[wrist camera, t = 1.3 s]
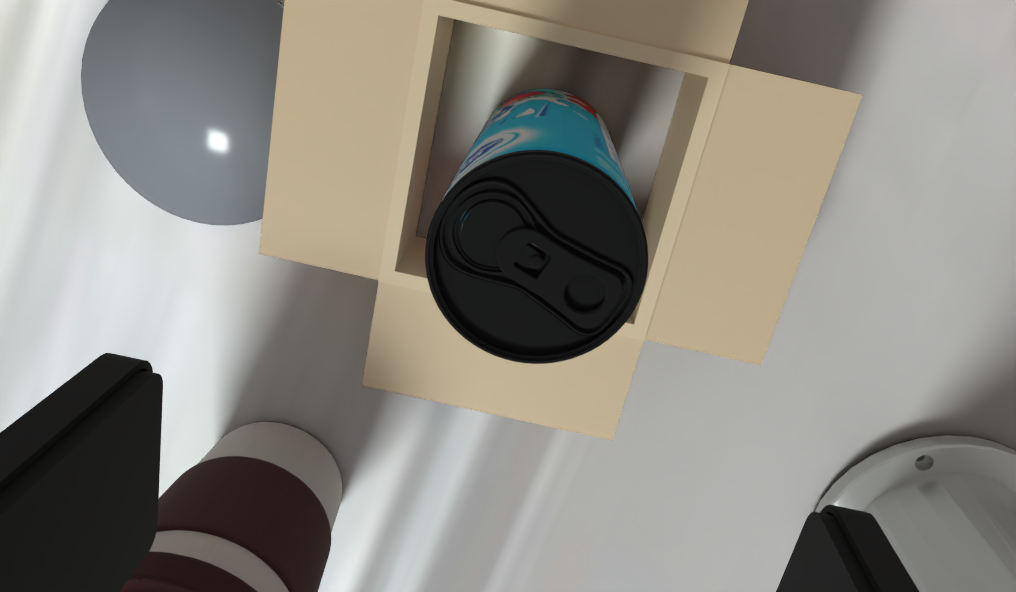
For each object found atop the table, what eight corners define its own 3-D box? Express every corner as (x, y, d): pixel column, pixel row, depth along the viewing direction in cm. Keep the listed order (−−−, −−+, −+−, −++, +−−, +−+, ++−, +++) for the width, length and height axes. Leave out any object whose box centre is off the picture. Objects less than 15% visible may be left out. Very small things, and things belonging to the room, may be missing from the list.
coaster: (348, 1, 32) (344, 0, 32) (317, 244, 36) (313, 248, 36) (90, -59, 32) (82, -60, 32) (87, 193, 36) (80, 196, 36)
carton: (865, -46, 31) (920, -54, 26) (704, 410, 38) (723, 466, 34) (342, -169, 30) (302, -199, 26) (285, 317, 38) (247, 362, 33)
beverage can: (543, 56, 33) (532, 101, 19) (639, 153, 34) (696, 262, 20) (451, 156, 35) (378, 265, 21) (545, 245, 36) (537, 404, 22)
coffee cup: (250, 573, 44) (107, 842, 30) (151, 435, 41) (-60, 662, 27) (402, 517, 42) (324, 777, 28) (309, 366, 39) (169, 574, 25)
